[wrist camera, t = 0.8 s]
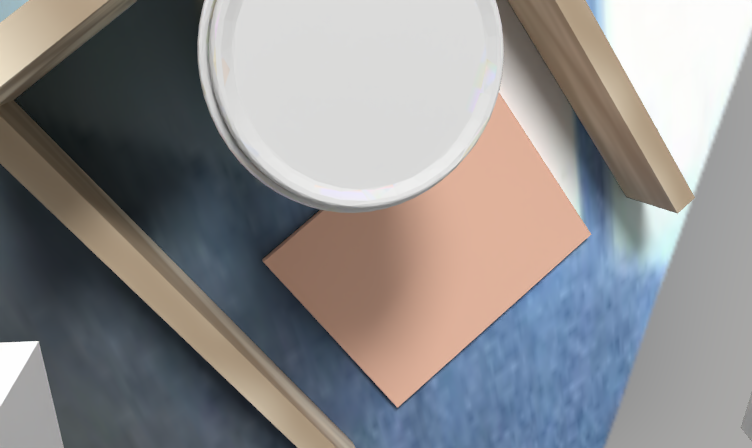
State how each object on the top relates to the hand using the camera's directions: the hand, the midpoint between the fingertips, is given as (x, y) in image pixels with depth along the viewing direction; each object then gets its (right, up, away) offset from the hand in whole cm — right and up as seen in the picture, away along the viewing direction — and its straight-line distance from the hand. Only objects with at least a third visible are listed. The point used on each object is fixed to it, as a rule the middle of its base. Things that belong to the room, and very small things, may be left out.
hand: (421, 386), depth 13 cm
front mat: (+2, +2, +23) cm, 23 cm away
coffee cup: (-5, +11, +19) cm, 22 cm away
